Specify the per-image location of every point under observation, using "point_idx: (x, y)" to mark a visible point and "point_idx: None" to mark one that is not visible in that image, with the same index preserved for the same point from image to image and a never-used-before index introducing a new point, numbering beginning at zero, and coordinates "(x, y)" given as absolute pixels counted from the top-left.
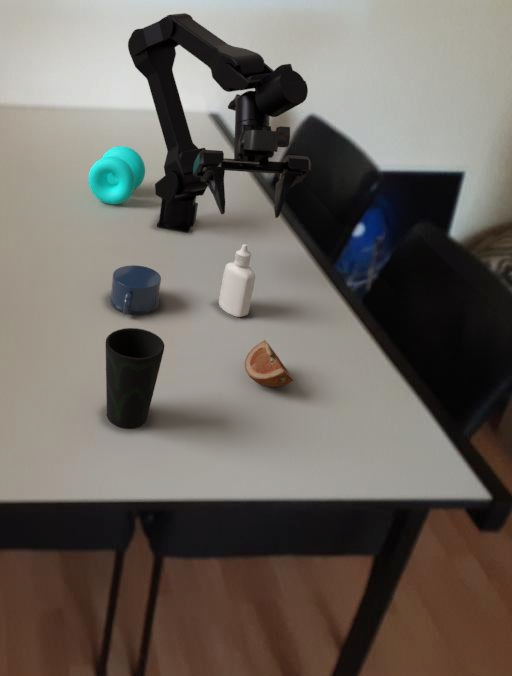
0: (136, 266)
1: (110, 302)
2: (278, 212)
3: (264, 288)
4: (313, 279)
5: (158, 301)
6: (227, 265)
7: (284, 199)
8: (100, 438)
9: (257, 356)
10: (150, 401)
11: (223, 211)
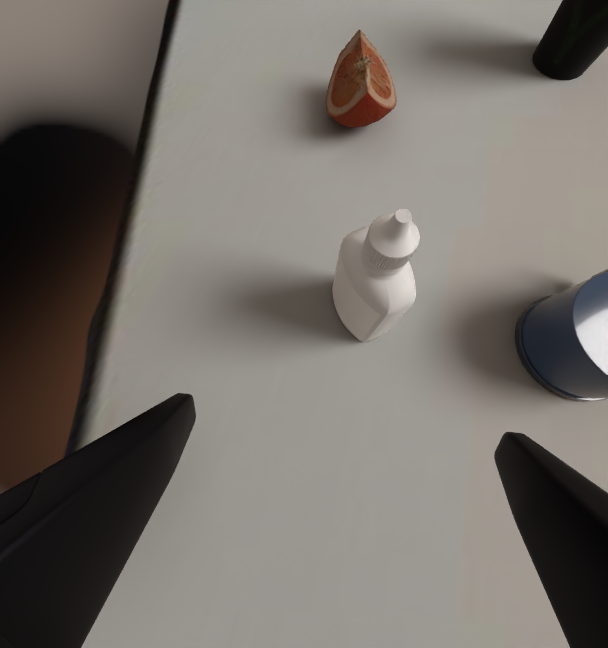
0: None
1: None
2: (175, 401)
3: (258, 402)
4: None
5: (521, 334)
6: (414, 285)
7: (76, 453)
8: None
9: (381, 87)
10: (559, 6)
11: (517, 435)
